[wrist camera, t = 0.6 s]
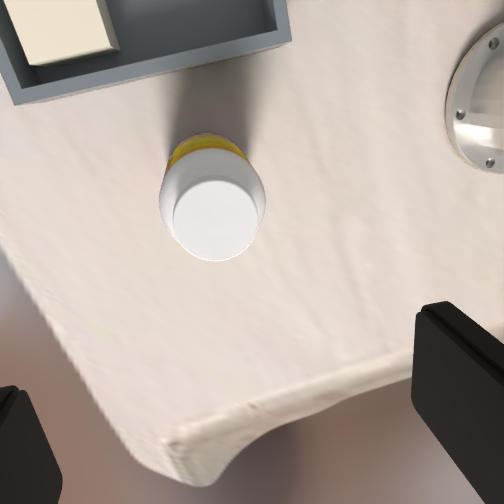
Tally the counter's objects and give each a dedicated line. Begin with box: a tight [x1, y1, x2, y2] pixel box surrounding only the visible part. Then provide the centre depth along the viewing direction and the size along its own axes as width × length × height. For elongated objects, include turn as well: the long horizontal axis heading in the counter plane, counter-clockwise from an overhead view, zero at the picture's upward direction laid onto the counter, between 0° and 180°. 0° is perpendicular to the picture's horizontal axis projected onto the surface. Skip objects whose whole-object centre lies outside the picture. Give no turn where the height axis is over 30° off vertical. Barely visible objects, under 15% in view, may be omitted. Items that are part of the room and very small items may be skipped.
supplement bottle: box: [159, 133, 266, 261], centre depth 27 cm, size 7×7×13 cm
